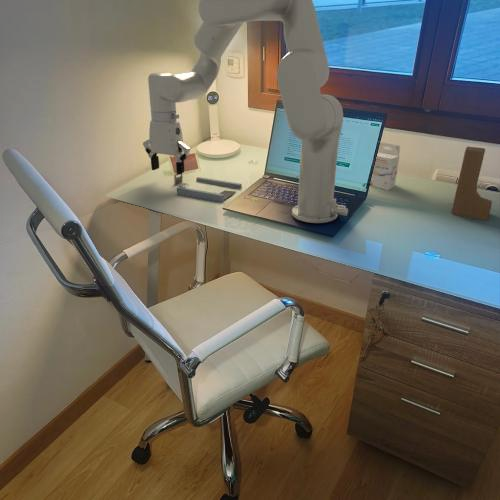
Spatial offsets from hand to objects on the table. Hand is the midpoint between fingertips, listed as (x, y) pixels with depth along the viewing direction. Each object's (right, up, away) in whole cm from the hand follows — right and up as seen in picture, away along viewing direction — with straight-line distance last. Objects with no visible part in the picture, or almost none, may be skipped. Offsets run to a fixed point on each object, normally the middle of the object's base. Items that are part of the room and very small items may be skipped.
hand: (167, 171), depth 141 cm
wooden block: (+86, -16, -21) cm, 90 cm away
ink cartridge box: (+67, -7, -3) cm, 67 cm away
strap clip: (+3, -4, +3) cm, 6 cm away
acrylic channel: (+14, -7, -4) cm, 16 cm away
